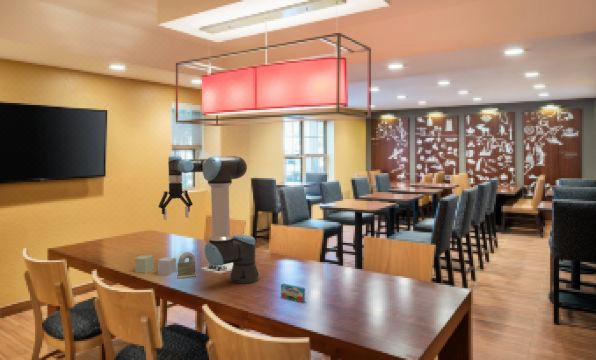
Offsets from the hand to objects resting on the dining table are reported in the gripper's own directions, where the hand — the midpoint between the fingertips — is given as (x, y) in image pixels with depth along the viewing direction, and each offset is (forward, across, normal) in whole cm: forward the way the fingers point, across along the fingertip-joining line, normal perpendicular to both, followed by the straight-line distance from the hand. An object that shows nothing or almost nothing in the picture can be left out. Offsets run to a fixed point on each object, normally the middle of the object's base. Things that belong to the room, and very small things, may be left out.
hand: (176, 218), depth 240 cm
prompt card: (+28, +6, +24) cm, 37 cm away
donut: (+28, -1, +11) cm, 30 cm away
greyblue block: (+28, +10, +10) cm, 32 cm away
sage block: (+28, +18, -3) cm, 34 cm away
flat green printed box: (+29, -15, +87) cm, 93 cm away
